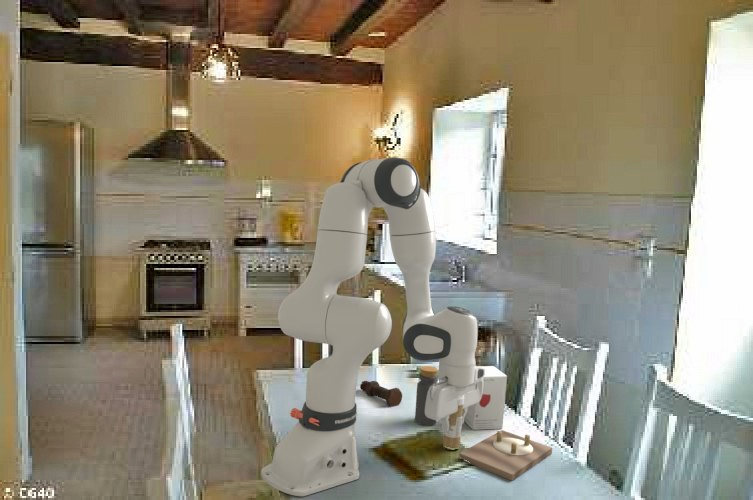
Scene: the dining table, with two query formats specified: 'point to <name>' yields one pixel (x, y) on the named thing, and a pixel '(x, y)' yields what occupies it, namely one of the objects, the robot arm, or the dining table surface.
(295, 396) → the dining table surface
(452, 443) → the sprinkles bottle
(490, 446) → the pin board
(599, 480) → the dining table surface
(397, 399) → the bolt
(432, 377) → the bottle
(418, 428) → the dining table surface
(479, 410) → the supplement box
